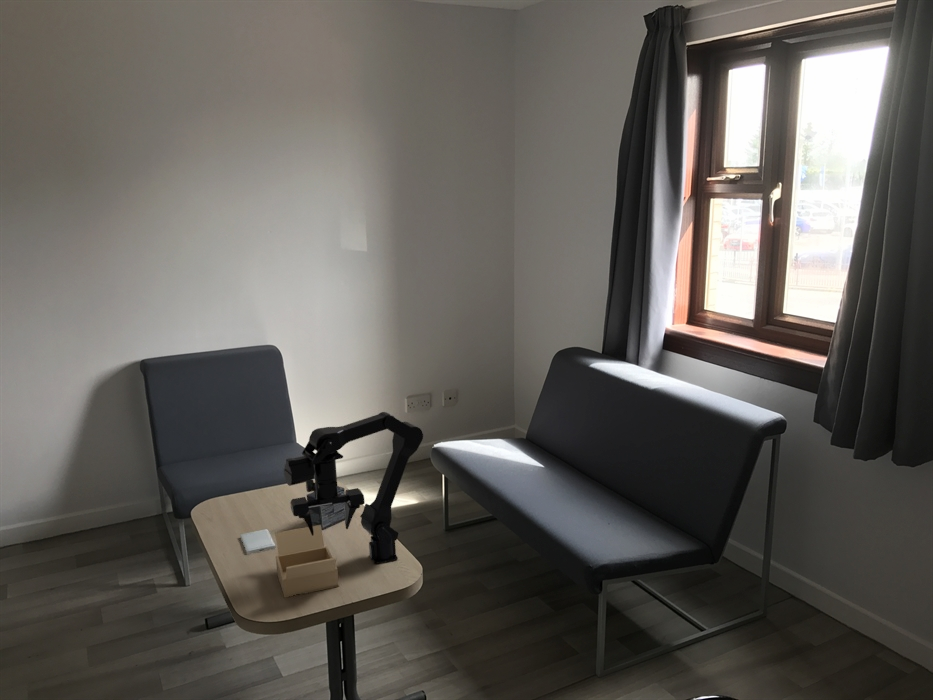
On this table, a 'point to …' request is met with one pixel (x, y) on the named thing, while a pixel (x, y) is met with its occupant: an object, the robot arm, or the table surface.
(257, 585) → the table surface
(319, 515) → the small box
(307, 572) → the flap
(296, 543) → the flap
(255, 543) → the hard drive
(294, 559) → the carton
